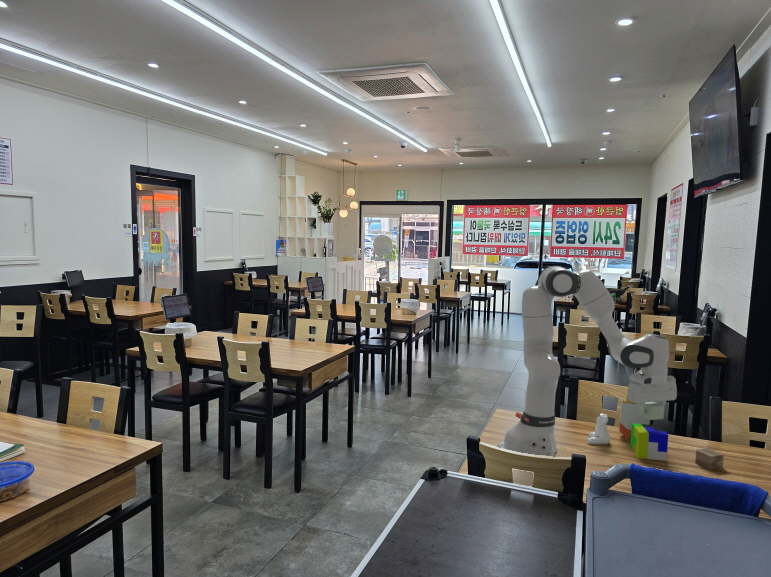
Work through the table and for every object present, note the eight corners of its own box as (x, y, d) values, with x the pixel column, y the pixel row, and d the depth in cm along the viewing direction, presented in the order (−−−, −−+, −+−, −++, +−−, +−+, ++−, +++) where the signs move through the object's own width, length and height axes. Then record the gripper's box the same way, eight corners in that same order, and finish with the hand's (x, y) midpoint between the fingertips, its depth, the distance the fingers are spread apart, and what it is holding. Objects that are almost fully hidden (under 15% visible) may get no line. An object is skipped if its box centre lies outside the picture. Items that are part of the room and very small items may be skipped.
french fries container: (618, 433, 214) (621, 392, 212) (647, 437, 210) (649, 395, 208) (619, 437, 209) (621, 395, 208) (648, 441, 205) (651, 398, 204)
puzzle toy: (666, 460, 187) (668, 434, 186) (637, 458, 189) (639, 432, 188) (657, 450, 197) (659, 425, 196) (630, 447, 199) (631, 423, 198)
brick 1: (650, 419, 187) (651, 406, 187) (638, 414, 193) (639, 401, 193) (663, 418, 189) (664, 405, 189) (651, 413, 195) (652, 400, 194)
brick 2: (710, 470, 180) (711, 456, 180) (695, 463, 186) (696, 449, 185) (722, 468, 182) (723, 454, 181) (707, 461, 188) (708, 448, 187)
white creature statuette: (589, 436, 211) (590, 408, 210) (611, 439, 207) (613, 411, 206) (586, 443, 202) (588, 414, 201) (610, 448, 198) (611, 418, 197)
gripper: (668, 373, 196) (666, 407, 197) (625, 375, 190) (623, 411, 191) (682, 377, 190) (679, 413, 191) (638, 380, 184) (635, 417, 185)
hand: (651, 412), depth 191 cm, fingers closed on brick 1, 6 cm apart
